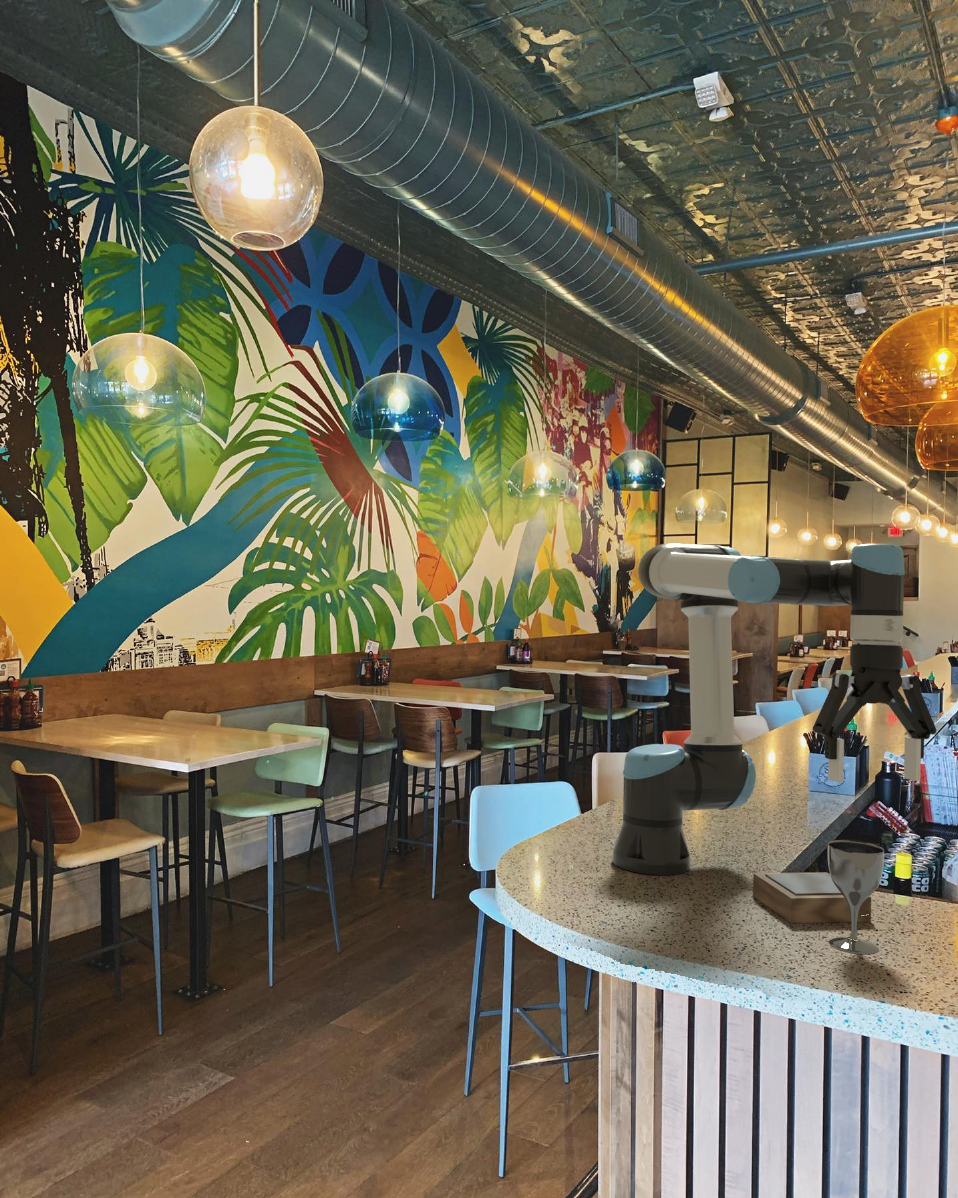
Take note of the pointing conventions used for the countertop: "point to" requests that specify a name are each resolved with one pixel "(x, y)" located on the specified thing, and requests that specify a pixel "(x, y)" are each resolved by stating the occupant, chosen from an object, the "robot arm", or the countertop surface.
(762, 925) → the countertop surface
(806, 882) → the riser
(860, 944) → the wine glass
